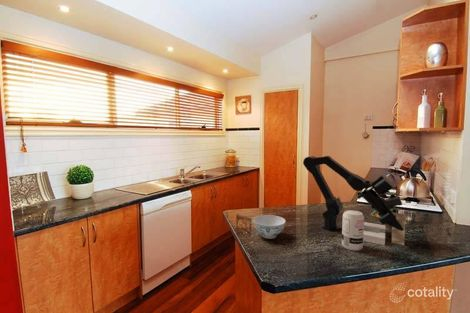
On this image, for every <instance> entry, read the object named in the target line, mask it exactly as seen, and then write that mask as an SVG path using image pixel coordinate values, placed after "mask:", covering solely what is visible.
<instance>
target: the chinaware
mask: <svg viewBox="0 0 470 313" xmlns="http://www.w3.org/2000/svg"><path fill="white" fill-rule="evenodd" d="M253 224H254V227H255V229H256V231H257V232H258V233H259V234H260V235H261V236H262V237H263V238H264V239H270V240H271V239H275V238H277V236H278V235H279V234H281V233H282V232H283V230H284V229H285V226H286V219H285V218H284V217H281V216H278V215H273V214H261V215H258V216H255V217H254V218H253Z"/></svg>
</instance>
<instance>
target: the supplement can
mask: <svg viewBox="0 0 470 313" xmlns="http://www.w3.org/2000/svg"><path fill="white" fill-rule="evenodd" d="M364 222H365V216H364V214H363V212H361V211H359V210H353V209H351V210H350V209H347V210H345V211H344V212H343V214H342V225H341V226H342V228H341V245H342V247H343V248H344V249H347V250H349V251H357V252H358V251H361V250H362V249H363V248H364V241H363V234H364Z"/></svg>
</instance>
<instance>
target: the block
mask: <svg viewBox="0 0 470 313" xmlns="http://www.w3.org/2000/svg"><path fill="white" fill-rule="evenodd" d="M394 214H396V219H397V221H398V222H399V224H400V225H401V226H402V228H403V229H404V230H402V231H401V230H398V229H396V228H394V227H392V226H391V244H396V245H399V246H400V245H401V246H405V240H406V239H405V235H406V234H405V233H406V222H407V221H406V220H407V219H406V218H407V217H406V214H405V213H399V212H396V213H394Z"/></svg>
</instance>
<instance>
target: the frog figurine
mask: <svg viewBox="0 0 470 313" xmlns="http://www.w3.org/2000/svg"><path fill="white" fill-rule="evenodd" d="M388 198H390V195H388V197H387V199H388ZM391 209H392V210H394V209H396V212H399V210H400V209H399V207H397V206H395V208H391ZM391 209H390V210H391ZM369 215H370V216H371V215H372V217H375V218H379V219H380V216H379V215H378V212H377V211H376V210H375V209H374V210H373V211H372V212H371V213H370V214H369Z"/></svg>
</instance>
